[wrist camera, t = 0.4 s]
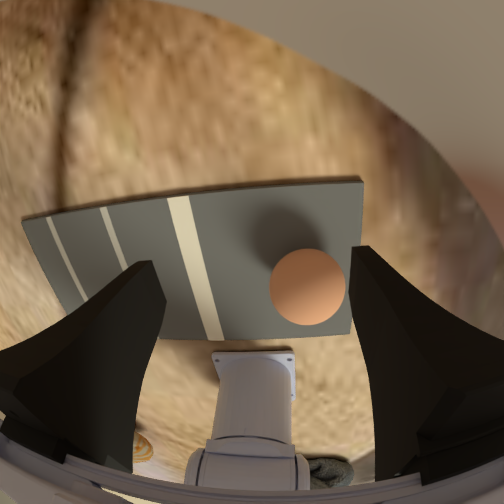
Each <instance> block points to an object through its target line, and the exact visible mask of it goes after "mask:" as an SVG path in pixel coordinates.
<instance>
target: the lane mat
mask: <svg viewBox="0 0 504 504" xmlns="http://www.w3.org/2000/svg"><path fill="white" fill-rule="evenodd" d="M363 195H364V182H363V181H338V182H316V183H298V184H283V185H269V186H256V187H244V188H233V189H223V190H213V191H203V192H194V193H186V194H177V195H169V196H161V197H154V198H147V199H139V200H133V201H126V202H119V203H113V204H107V205H100V206H94V207H89V208H83V209H77V210H72V211H66V212H61V213H56V214H51V215H46V216H41V217H36V218H31V219H26V220H23V221H22V222H21V224H22V226H23V229H24V231H25V233H26V236H27V238H28V240H29V242H30V245H31V247H32V249H33V251H34V253H35V255H36V257H37V259H38V262H39V264H40V266H41V268H42V270H43V272H44V273H45V275H46V277H47V279H48V281H49V283H50V285H51V287H52V289H53V290H54V292H55V294H56V296H57V298H58V299H59V301H60V303H61V305H62V306H63V308H64V310H65V311H66V313H67V315H69V314H70V313H72V312H73V311H74V310H76V309H77V308H79V307H80V306H81V305H82V304H84V303H85V302H86V301H87V300H89V299H90V298H91V297H92V296H94V295H95V294H96V293H98V292H99V291H100V290H101V289H102V288H104V287H105V286H106V285H107V284H108V283H110V282H111V281H112V280H113V279H115V278H116V277H117V276H118V275H119V274H121V273H122V272H123V271H124V270H126V269H127V268H128V267H130V266H131V265H132V264H134V263H135V262H137V261H145V260H152V262H153V265H154V268H155V270H156V273H157V276H158V279H159V281H160V284H161V287H162V290H163V292H164V295H165V298H166V300H167V304H166V309H165V314H164V318H163V323H162V326H161V329H160V332H159V335H158V337H157V339H178V340H211V341H224V340H257V339H285V338H304V337H320V336H333V335H345V334H350V329H351V322H352V312H351V306H350V300H349V294H348V290H349V278H350V265H351V249H352V247H353V246H360V243H361V230H362V215H363ZM299 249H316V250H320V251H322V252H324V253H326V254H328V255H330V256H331V257H332V258H333V259H334V260H335V261H336V262H337V263H338V265H339V266H340V268H341V270H342V272H343V275H344V278H345V295H344V298H343V301H342V303H341V305H340V307H339V309H338V310H337V311H336V312H335V313H334V314H333V315H332V316H331V317H330V318H328V319H327V320H325V321H323V322H321V323H318V324H314V325H299V324H295V323H293V322H290V321H289V320H287V319H285V318H284V317H283V316H282V315H280V314H279V312H278V311H277V310H276V309H275V307H274V305H273V303H272V301H271V298H270V293H269V282H270V277H271V274H272V271H273V269H274V267H275V266H276V265H277V263H278V262H279V261H280V260H281V259H282V258H283V257H284V256H286V255H287V254H289V253H291V252H293V251H296V250H299Z"/></svg>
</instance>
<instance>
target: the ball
mask: <svg viewBox="0 0 504 504" xmlns="http://www.w3.org/2000/svg"><path fill="white" fill-rule="evenodd" d="M269 293H270V298H271V301H272V303H273V305H274V307H275V309H276V310H277V311H278V312H279V314H280V315H282V316H283V317H284V318H285V319H287V320H289V321H290V322H293V323H295V324H299V325H314V324H318V323H321V322H323V321H325V320H327V319H328V318H330V317H331V316H332V315H333V314H334V313H335V312H336V311H337V310H338V309H339V307H340V305H341V303H342V301H343V298H344V295H345V278H344V275H343V272H342V270H341V268H340V266H339V265H338V263H337V262H336V261H335V260H334V259H333V258H332V257H331V256H330V255H328V254H326V253H324V252H322V251H320V250H316V249H299V250H296V251H293V252H291V253H289V254H287V255H286V256H284V257H283V258H282V259H281V260H280V261H279V262H278V263H277V265H276V266H275V267H274V269H273V271H272V274H271V277H270V282H269Z"/></svg>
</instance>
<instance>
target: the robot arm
mask: <svg viewBox="0 0 504 504" xmlns="http://www.w3.org/2000/svg"><path fill="white" fill-rule="evenodd" d="M348 294H349V300H350V306H351V312H352V317H353V321H354V324H355V328H356V331H357V335H358V338H359V342H360V345H361V349H362V352H363V356H364V360H365V363H366V367H367V372H368V377H369V383H370V391H371V399H372V409H373V420H374V436H375V482H372V483H366V484H359V485H352V486H345V487H336V488H326V489H313V490H310V470H309V464H308V461H307V460H306V459H305V458H304V457H303V455H302V454H295V445H291V401H293V400H295V399H296V396H295V353H294V352H293V351H264V352H213V353H212V356H211V358H212V360H213V363H214V366H215V369H216V371H217V374H218V377H219V379H220V386H219V392H218V398H217V405H216V411H215V417H214V424H213V430H212V436H211V440H210V439H207V441H206V447H205V449H204V448H198V449H197V450H196V451H195V452H193V453H192V454H191V456H190V458H189V460H188V464H187V467H186V472H185V479H184V484H180V483H174V482H168V481H162V480H157V479H152V478H148V477H143V476H139V475H134V474H132V473H133V441H134V430H135V420H136V414H137V407H138V401H139V396H140V391H141V386H142V381H143V378H144V374H145V371H146V368H147V365H148V362H149V360H150V357H151V354H152V351H153V348H154V346H155V343H156V340H157V337H158V335H159V332H160V329H161V326H162V323H163V318H164V314H165V309H166V304H167V300H166V298H165V295H164V292H163V290H162V287H161V284H160V281H159V279H158V276H157V273H156V270H155V268H154V265H153V262H152V260H145V261H137V262H135V263H134V264H132V265H131V266H130V267H128V268H127V269H126V270H124V271H123V272H122V273H121V274H119V275H118V276H117V277H116V278H115V279H113V280H112V281H111V282H110V283H108V284H107V285H106V286H105V287H104V288H102V289H101V290H100V291H99V292H98V293H96V294H95V295H94V296H92V297H91V298H90V299H89V300H87V301H86V302H85V303H84V304H82V305H81V306H80V307H79V308H77V309H76V310H74V311H73V312H72V313H70V314H69V315H67V316H66V317H64V318H63V319H61V320H60V321H58V322H57V323H55V324H54V325H52V326H50V327H48V328H47V329H45V330H43V331H42V332H40V333H38V334H36V335H35V336H33V337H31V338H29V339H27V340H25V341H23V342H20V343H18V344H16V345H14V346H11V347H9V348H6V349H4V350H1V351H0V411H1V412H3V413H4V414H5V415H6V417H5V419H4V421H3V420H1V419H0V490H1V491H2V492H4V493H5V494H6V495H7V496H9V497H10V498H11V499H12V500H14V501H15V502H16V503H17V504H133V503H131V502H129V501H127V500H125V499H123V498H122V497H120V496H117V495H115V494H112V493H109V492H107V491H104V490H102V488H106V489H108V490H111V491H115V492H118V493H122V494H125V495H128V496H132V497H136V498H140V499H144V500H148V501H152V502H157V503H161V504H504V340H501V339H499V338H496V337H494V336H492V335H490V334H488V333H486V332H484V331H482V330H480V329H478V328H476V327H474V326H472V325H470V324H468V323H467V322H465V321H463V320H462V319H460V318H458V317H456V316H455V315H453V314H452V313H450V312H448V311H447V310H445V309H444V308H442V307H441V306H440V305H438V304H437V303H435V302H434V301H432V300H431V299H430V298H428V297H427V296H426V295H424V294H423V293H422V292H421V291H419V290H418V289H417V288H416V287H414V286H413V285H412V284H411V283H409V282H408V281H407V280H406V279H405V278H404V277H403V276H401V275H400V274H399V273H398V272H397V271H396V270H395V269H394V268H392V267H391V266H390V265H389V264H388V263H387V262H386V261H385V260H384V259H383V258H382V257H381V256H380V255H379V254H377V253H376V252H375V251H374V250H373V249H372V248H371V247H370V246H369V245H367V246H353V247H352V249H351V265H350V278H349V290H348ZM101 487H102V488H101Z"/></svg>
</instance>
